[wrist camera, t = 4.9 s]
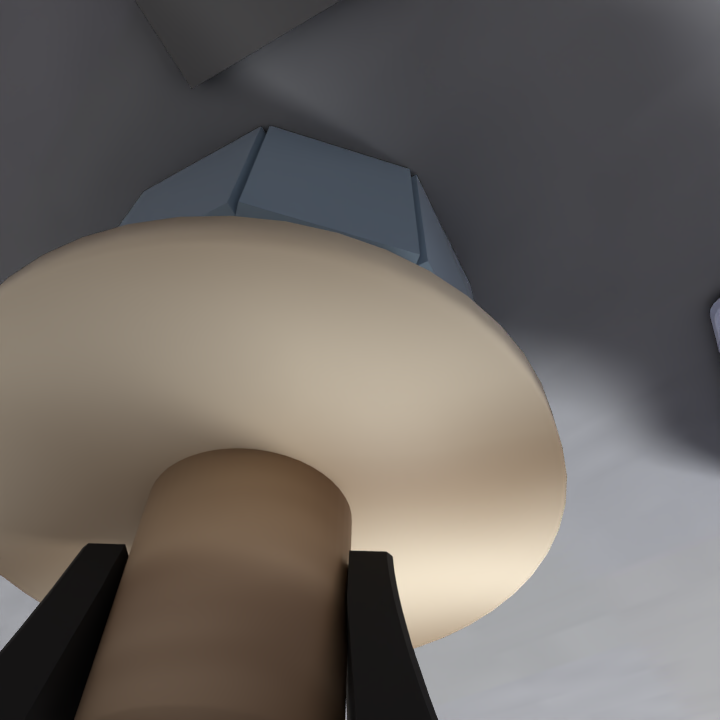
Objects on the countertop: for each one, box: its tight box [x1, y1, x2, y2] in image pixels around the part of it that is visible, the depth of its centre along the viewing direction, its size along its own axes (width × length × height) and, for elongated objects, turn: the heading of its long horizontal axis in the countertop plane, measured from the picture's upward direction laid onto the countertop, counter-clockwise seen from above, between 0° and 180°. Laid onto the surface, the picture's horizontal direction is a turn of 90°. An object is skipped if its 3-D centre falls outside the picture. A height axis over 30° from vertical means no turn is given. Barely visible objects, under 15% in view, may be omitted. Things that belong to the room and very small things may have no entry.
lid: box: [0, 216, 567, 720], centre depth 11 cm, size 11×11×5 cm
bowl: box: [118, 126, 474, 301], centre depth 17 cm, size 9×9×4 cm
